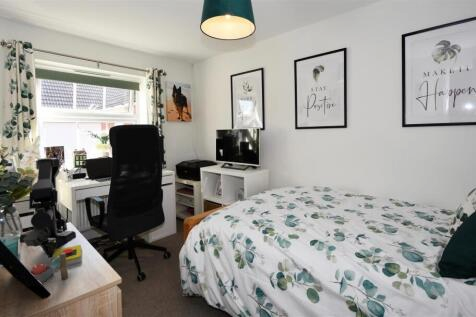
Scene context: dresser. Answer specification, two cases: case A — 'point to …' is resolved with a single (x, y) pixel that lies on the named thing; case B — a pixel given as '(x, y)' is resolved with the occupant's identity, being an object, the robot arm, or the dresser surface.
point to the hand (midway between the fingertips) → (50, 257)
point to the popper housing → (45, 275)
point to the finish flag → (61, 265)
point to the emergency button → (70, 256)
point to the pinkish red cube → (39, 269)
